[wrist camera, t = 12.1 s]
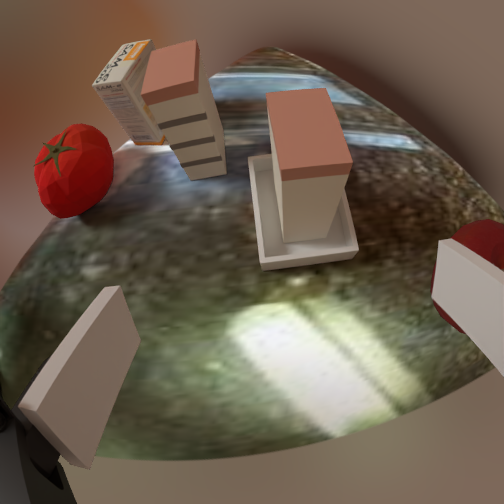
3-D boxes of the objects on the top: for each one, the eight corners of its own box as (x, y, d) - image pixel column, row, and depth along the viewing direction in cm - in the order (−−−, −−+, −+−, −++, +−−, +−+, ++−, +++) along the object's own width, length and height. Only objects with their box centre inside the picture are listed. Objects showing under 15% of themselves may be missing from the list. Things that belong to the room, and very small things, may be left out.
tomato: (53, 221, 36) (7, 191, 26) (88, 148, 39) (53, 109, 29) (104, 236, 34) (53, 202, 24) (142, 151, 37) (108, 104, 27)
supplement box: (154, 105, 40) (121, 43, 27) (181, 104, 39) (152, 37, 26) (133, 146, 38) (89, 85, 25) (162, 147, 37) (121, 79, 24)
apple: (462, 355, 25) (529, 355, 14) (395, 310, 28) (451, 291, 16) (493, 274, 27) (553, 246, 16) (433, 228, 30) (484, 180, 18)
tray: (262, 270, 30) (260, 263, 27) (250, 171, 34) (247, 157, 31) (352, 258, 30) (358, 250, 27) (329, 162, 33) (332, 147, 30)
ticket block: (190, 181, 34) (140, 95, 20) (190, 137, 37) (151, 51, 22) (227, 174, 34) (193, 80, 20) (224, 130, 36) (196, 39, 22)
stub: (283, 243, 30) (280, 169, 17) (274, 184, 32) (265, 93, 19) (326, 237, 30) (352, 162, 17) (313, 179, 32) (325, 88, 19)
